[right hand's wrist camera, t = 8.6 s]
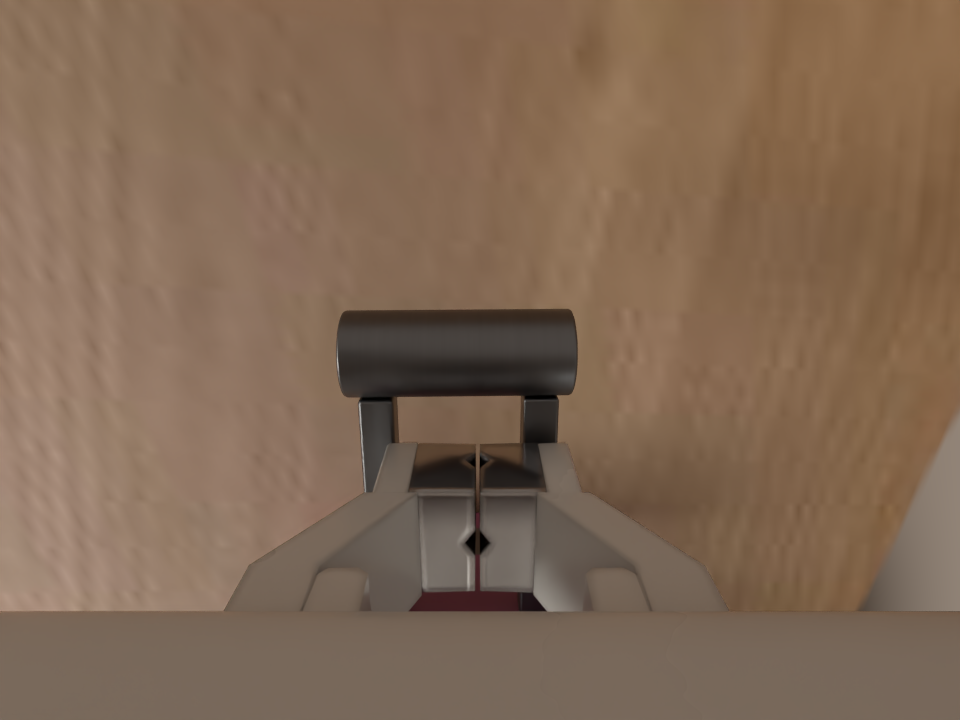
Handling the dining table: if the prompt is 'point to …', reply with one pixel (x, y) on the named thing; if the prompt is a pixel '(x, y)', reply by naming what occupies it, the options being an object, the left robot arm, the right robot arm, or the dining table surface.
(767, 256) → the dining table surface
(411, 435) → the dining table surface
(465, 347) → the drawer
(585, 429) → the dining table surface
